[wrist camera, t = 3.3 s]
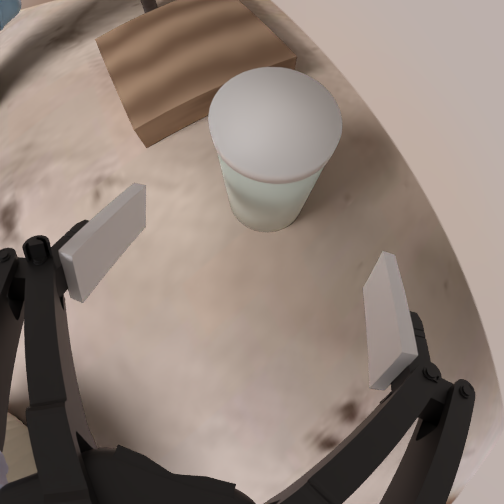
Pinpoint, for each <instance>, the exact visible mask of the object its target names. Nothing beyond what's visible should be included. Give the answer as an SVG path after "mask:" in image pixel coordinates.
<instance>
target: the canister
mask: <svg viewBox="0 0 504 504" xmlns="http://www.w3.org/2000/svg"><path fill="white" fill-rule="evenodd" d="M2 453H3V455H4V457H5V460H6V463H7V465H8V469H9V470H8V473H7V474H6V478H7V481H8V483H10V482H13V481H15V480H18V479H21V478H24V477H26V476H29V475H32V474H34V473H37V468H36V464H35V460H34V456H33V452H32V447H31V442H30V437H29V432H28V428H27V426H25V425H24V424H23V423H22V421H20V420H18V419H17V418H16V417H15V416H13V415H12V414H10V413H7V425H6V435H5V442H4V447H3V452H2Z"/></svg>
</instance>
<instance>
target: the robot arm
mask: <svg viewBox="0 0 504 504" xmlns="http://www.w3.org/2000/svg"><path fill="white" fill-rule="evenodd" d="M20 9H21V0H0V30H2V29H3V28H4V26H5V25H6V24H7V23H8V22H10V21H11V20H12V19H13V18H14V17H15V16H16V15H17V14H18V13H19V11H20ZM145 227H146V185H142V184H138V183H133V184H132V185H131V186H130V187H128V188H127V189H126V190H125V191H124V192H122V193H121V194H120V195H119V196H118V197H116V198H115V199H114V200H113V201H112V202H110V203H109V204H108V205H107V206H106V207H105V208H104V209H102V210H101V211H100V212H99V213H98V214H97V215H96V216H95V217H93V218H92V219H91V220H90V221H88V220H84V221H81V222H79V223H77V224H76V225H75V226H74V227H72V228H71V229H70V231H68V232H67V233H66V234H65V236H63V237H62V238H61V239H59V240H58V241H57V242H56V243H55V244H54V245H53V246H52V247H50V242H49V239H48V238H47V237H46V236H42V235H38V236H34V237H31V238H29V239H28V240H27V241H26V242H25V243H24V244H23V247H22V248H23V251H24V254H25V258H19V257H17V254H16V252H15V250H14V249H13V248H5V249H2V250H0V504H256V503H255V502H254V501H253V500H252V499H250V498H249V497H248V496H247V495H245V494H244V493H242V492H241V491H239V490H237V489H235V486H236V484H233V483H229V482H225V481H221V480H217V479H214V478H210V477H206V476H191V475H179V474H173V473H171V472H169V471H167V470H166V469H164V468H163V467H161V466H160V465H158V464H157V463H155V462H154V461H152V460H151V459H149V458H148V457H146V456H144V455H142V454H139V453H137V452H134V451H132V450H130V449H127V448H125V447H123V446H120V445H118V446H117V448H116V449H114V448H98V449H97V447H96V444H95V441H94V439H93V437H92V435H91V432H90V430H89V428H88V424H87V421H86V417H85V413H84V409H83V405H82V401H81V397H80V393H79V388H78V383H77V379H76V374H75V368H74V363H73V357H72V351H71V345H70V338H69V331H68V324H67V315H66V306H65V298H64V293H65V292H66V290H67V289H68V291H69V294H70V298H72V299H75V300H77V301H79V302H81V303H84V301H85V300H86V299H87V297H88V296H89V295H90V294H91V292H92V291H93V290H94V288H95V287H96V286H97V285H98V283H99V282H100V281H101V280H102V278H103V277H104V276H105V275H106V273H107V272H108V271H109V270H110V268H111V267H112V266H113V265H114V263H115V262H116V261H117V260H118V259H119V257H120V256H121V255H122V254H123V253H124V252H125V250H126V249H127V248H128V247H129V246H130V244H131V243H132V242H133V241H134V240H135V239H136V237H137V236H138V235H139V234H140V233H141V232H142V231H143V229H144V228H145ZM363 297H364V307H365V318H366V331H367V347H368V366H369V388H371V389H377V390H385V389H386V388H387V387H388V386H389V385H390V384H391V390H392V391H391V392H390V393H389V394H388V395H387V396H386V397H385V398H384V399H383V400H382V401H381V402H380V404H379V405H378V406H377V407H376V408H375V409H374V411H373V412H372V413H371V414H370V415H369V416H368V417H367V418H366V419H365V420H364V421H363V422H362V423H361V424H360V425H359V426H358V427H357V428H356V429H355V430H354V431H353V432H352V433H351V434H350V435H349V436H348V437H347V438H346V439H344V440H343V441H342V442H341V443H340V444H339V445H338V446H337V447H336V448H335V449H334V450H333V451H331V452H330V453H329V454H328V455H327V456H326V457H325V458H323V459H322V460H321V461H320V462H319V463H318V464H316V465H315V466H314V467H313V468H312V469H311V470H309V471H308V472H307V473H306V474H304V475H303V476H302V477H301V478H299V479H298V480H297V481H296V482H294V483H293V484H292V485H290V486H289V487H288V488H286V489H285V490H284V491H282V492H281V493H279V494H277V495H276V496H274V497H273V498H271V499H270V500H268V501H267V502H265V503H264V504H342V503H343V502H344V501H345V500H346V499H348V498H349V497H350V496H351V495H352V494H353V493H354V492H355V491H356V490H357V489H358V488H359V487H360V486H361V484H362V483H363V482H364V481H365V480H366V479H367V478H368V477H369V476H370V475H371V474H372V473H373V472H374V471H375V469H376V468H377V467H378V466H379V465H380V464H381V463H382V462H383V460H384V459H385V458H386V457H387V456H388V455H389V453H390V452H391V451H392V450H393V449H394V447H395V446H396V445H397V444H398V442H399V441H400V440H401V439H402V437H403V436H404V435H405V433H406V432H407V431H408V429H409V428H410V427H411V425H412V424H413V423H414V421H415V420H416V419H417V417H418V418H419V419H418V422H417V425H416V427H415V430H414V432H413V435H412V437H411V440H410V442H409V444H408V447H407V449H406V451H405V454H404V456H403V458H402V460H401V462H400V465H399V467H398V469H397V471H396V473H395V475H394V477H393V479H392V481H391V483H390V485H389V487H388V489H387V491H386V493H385V494H384V496H383V498H382V500H381V502H380V504H446V501H447V499H448V496H449V494H450V491H451V488H452V485H453V482H454V479H455V476H456V473H457V470H458V467H459V464H460V460H461V457H462V454H463V450H464V446H465V442H466V439H467V435H468V430H469V426H470V422H471V417H472V412H473V407H474V401H475V391H474V388H473V387H472V385H471V384H470V383H469V382H468V381H466V380H464V379H459V380H458V381H457V382H455V383H454V384H452V383H450V382H448V381H446V380H444V379H442V378H441V373H440V371H439V369H438V368H437V366H436V365H434V364H433V363H431V361H430V356H429V351H428V346H427V342H426V339H425V333H424V328H423V324H422V321H421V319H420V318H419V316H418V314H417V313H415V312H411V311H409V307H408V303H407V299H406V294H405V290H404V286H403V282H402V279H401V275H400V271H399V267H398V264H397V260H396V257H395V255H394V254H391V253H388V252H385V251H382V253H381V255H380V257H379V259H378V261H377V263H376V265H375V266H374V268H373V270H372V272H371V274H370V276H369V278H368V279H367V281H366V283H365V285H364V287H363ZM23 321H24V337H25V359H26V372H27V383H28V392H29V400H30V406H29V407H28V408H27V409H26V420H27V426H28V432H29V437H30V442H31V447H32V452H33V456H34V460H35V464H36V468H37V473H34V474H32V475H29V476H26V477H24V478H21V479H18V480H15V481H13V482H10V483H8V481H7V478H6V474H7V473H8V470H9V469H8V465H7V463H6V460H5V457H4V455H3V453H2V452H3V447H4V442H5V435H6V425H7V413H8V403H9V395H10V388H11V381H12V374H13V368H14V363H15V358H16V352H17V348H18V343H19V338H20V334H21V330H22V325H23Z"/></svg>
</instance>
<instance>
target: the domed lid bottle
mask: <svg viewBox="0 0 504 504" xmlns="http://www.w3.org/2000/svg"><path fill="white" fill-rule="evenodd" d="M208 122H209V129H210V133H211V137H212V140H213V143H214V147H215V149H216V150H217V154H218V158H219V162H220V166H221V170H222V174H223V178H224V182H225V186H226V190H227V194H228V198H229V202H230V206H231V209H232V211H233V213H234V215H235V216H236V218H237V219H238V220H239V221H240V222H241V223H242V224H243V225H245V226H246V227H248V228H250V229H252V230H255V231H259V232H274V231H278V230H281V229H283V228H285V227H287V226H288V225H290V224H291V223H292V222H293V221H294V220H295V219H296V218H297V216H298V215H299V213H300V211H301V209H302V207H303V205H304V204H305V202H306V200H307V198H308V196H309V194H310V192H311V190H312V189H313V187H314V185H315V183H316V181H317V179H318V177H319V175H320V173H321V171H322V170H323V168H324V166H325V164H326V163H327V162H328V161H329V159H330V158H331V156H332V154H333V153H334V151H335V149H336V147H337V145H338V143H339V140H340V137H341V133H342V117H341V112H340V109H339V107H338V104H337V102H336V101H335V99H334V97H333V96H332V95H331V93H330V92H329V91H328V90H327V89H326V88H325V87H324V86H323V85H322V84H321V83H319V82H318V81H316V80H315V79H313V78H312V77H310V76H308V75H306V74H304V73H301V72H299V71H296V70H292V69H288V68H282V67H262V68H256V69H252V70H248V71H245V72H243V73H241V74H239V75H236V76H235V77H233V78H232V79H230V80H229V81H227V82H226V83H225V84H224V85H223V86H222V87H221V88H220V89H219V90H218V92H217V93H216V95H215V96H214V98H213V100H212V102H211V105H210V109H209V115H208Z"/></svg>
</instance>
